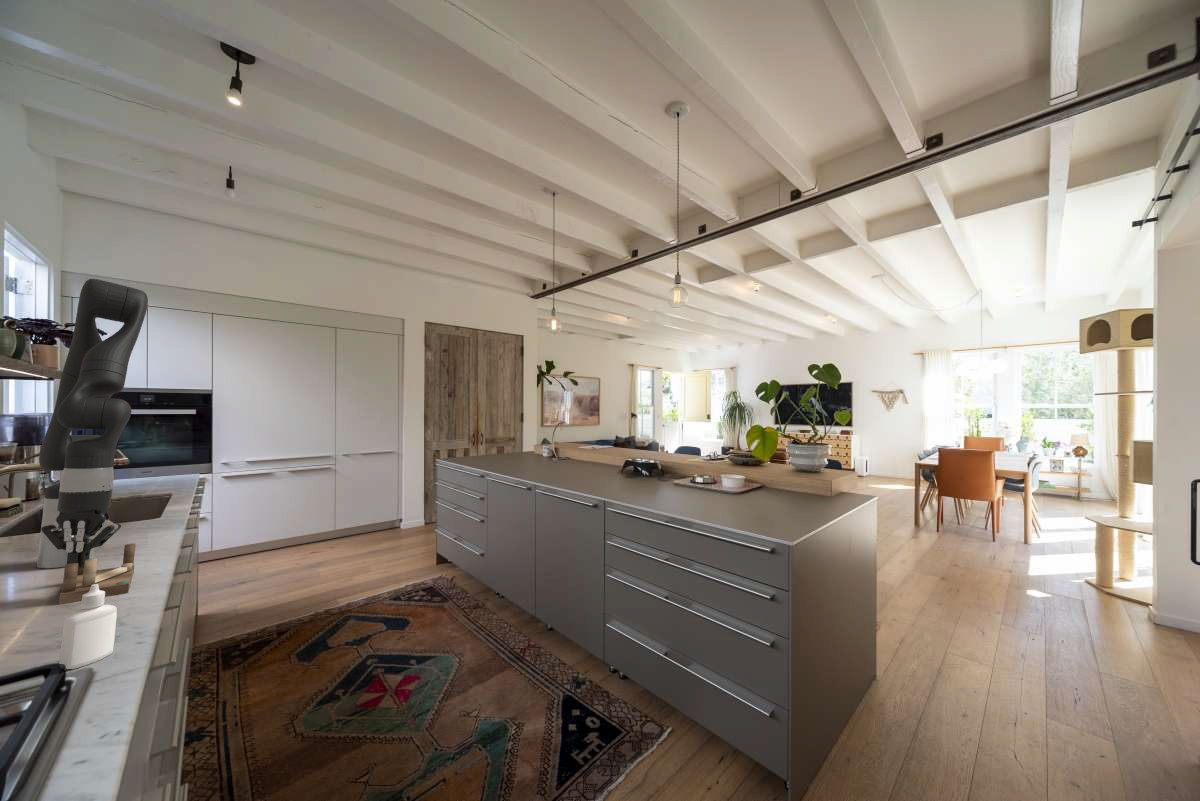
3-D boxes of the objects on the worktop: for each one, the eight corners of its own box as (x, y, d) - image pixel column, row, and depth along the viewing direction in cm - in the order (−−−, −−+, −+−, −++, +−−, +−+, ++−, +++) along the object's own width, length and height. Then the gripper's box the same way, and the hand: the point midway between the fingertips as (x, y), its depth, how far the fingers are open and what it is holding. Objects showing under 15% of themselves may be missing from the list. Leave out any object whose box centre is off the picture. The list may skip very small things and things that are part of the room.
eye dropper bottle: (113, 659, 70) (121, 583, 70) (58, 673, 65) (67, 593, 66) (112, 649, 72) (119, 577, 73) (59, 663, 68) (67, 585, 69)
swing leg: (125, 568, 102) (127, 546, 103) (134, 568, 103) (136, 546, 103) (79, 585, 92) (81, 561, 92) (89, 585, 92) (91, 560, 92)
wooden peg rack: (72, 582, 100) (76, 549, 100) (133, 573, 106) (136, 542, 107) (58, 604, 88) (62, 567, 89) (127, 592, 95) (131, 558, 95)
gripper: (30, 490, 89) (19, 575, 88) (108, 491, 92) (98, 573, 91) (66, 485, 96) (57, 563, 95) (137, 486, 99) (129, 562, 98)
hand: (77, 568), depth 93 cm, fingers closed
